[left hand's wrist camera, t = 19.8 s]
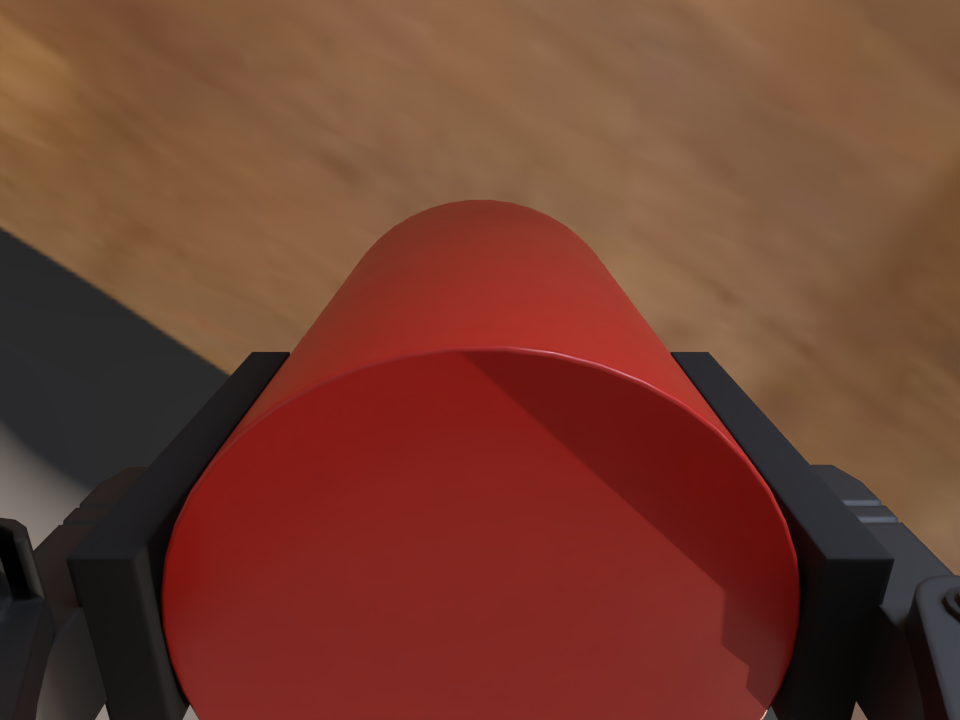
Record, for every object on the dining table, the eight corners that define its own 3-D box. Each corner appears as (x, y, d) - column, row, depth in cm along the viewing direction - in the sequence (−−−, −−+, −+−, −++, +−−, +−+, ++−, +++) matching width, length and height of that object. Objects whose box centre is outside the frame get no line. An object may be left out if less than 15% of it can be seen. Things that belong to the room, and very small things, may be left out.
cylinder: (355, 171, 16) (165, 282, 6) (659, 231, 17) (911, 418, 7) (322, 445, 19) (153, 816, 9) (584, 490, 20) (689, 885, 10)
